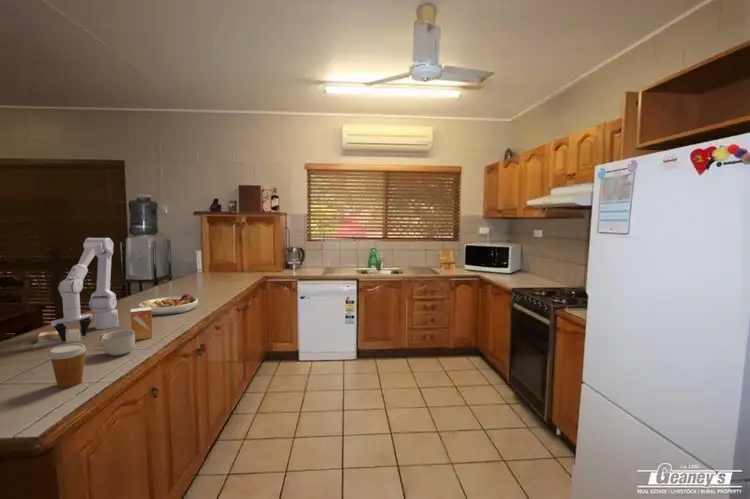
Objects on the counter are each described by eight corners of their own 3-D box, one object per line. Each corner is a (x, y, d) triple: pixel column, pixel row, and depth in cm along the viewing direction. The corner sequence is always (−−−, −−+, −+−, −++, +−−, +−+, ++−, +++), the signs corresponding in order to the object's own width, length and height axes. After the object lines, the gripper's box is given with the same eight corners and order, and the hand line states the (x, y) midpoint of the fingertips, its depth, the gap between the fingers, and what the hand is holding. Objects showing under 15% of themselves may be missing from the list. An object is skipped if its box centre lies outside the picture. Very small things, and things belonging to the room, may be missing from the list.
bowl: (166, 318, 204) (166, 304, 203) (127, 313, 215) (126, 299, 214) (209, 306, 232) (208, 294, 231) (172, 302, 243) (172, 290, 242)
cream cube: (80, 337, 168) (80, 327, 167) (79, 340, 164) (79, 330, 164) (67, 339, 165) (67, 329, 165) (66, 342, 162) (65, 332, 161)
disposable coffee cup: (64, 378, 128) (62, 343, 127) (94, 377, 129) (92, 342, 128) (42, 390, 119) (40, 353, 118) (75, 390, 120) (73, 352, 119)
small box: (131, 341, 167) (130, 311, 166) (131, 337, 172) (129, 308, 171) (153, 338, 171) (151, 309, 170) (152, 334, 176) (150, 306, 175)
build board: (85, 333, 176) (85, 331, 176) (81, 343, 163) (81, 341, 163) (39, 339, 168) (39, 337, 168) (32, 350, 154) (31, 348, 154)
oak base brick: (65, 336, 170) (64, 329, 170) (63, 339, 165) (62, 333, 165) (41, 339, 166) (41, 332, 166) (38, 343, 161) (38, 336, 161)
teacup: (142, 350, 155) (141, 331, 155) (116, 359, 145) (115, 339, 144) (117, 346, 160) (116, 327, 159) (90, 355, 150) (89, 335, 149)
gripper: (86, 303, 172) (87, 332, 173) (46, 309, 159) (48, 341, 160) (94, 304, 168) (96, 334, 170) (54, 311, 156) (57, 344, 157)
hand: (73, 338), depth 165 cm, fingers open, 7 cm apart
